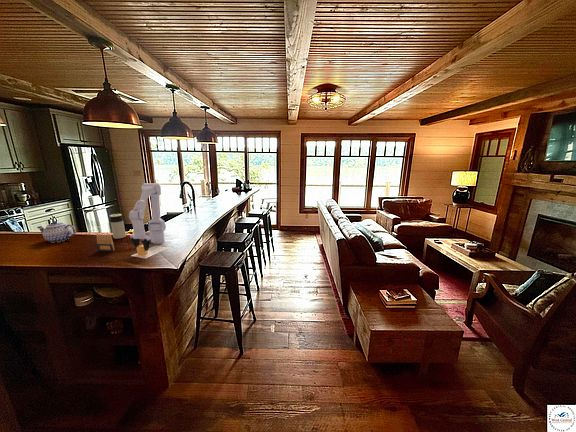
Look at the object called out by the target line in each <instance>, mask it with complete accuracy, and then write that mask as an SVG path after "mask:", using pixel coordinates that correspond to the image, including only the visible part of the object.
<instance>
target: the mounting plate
mask: <svg viewBox="0 0 576 432" xmlns="http://www.w3.org/2000/svg"><path fill="white" fill-rule="evenodd" d="M167 249H168V247H167V246H160V245H153V246H151V247H149V250H148V253H147V254H145V255H138V253H134V254H131V257H136V258H140V259H148V258H149V257H151V256H154V255H157V254H159V253H161V252H163V251H165V250H167Z"/></svg>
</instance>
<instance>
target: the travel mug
mask: <svg viewBox="0 0 576 432" xmlns="http://www.w3.org/2000/svg"><path fill="white" fill-rule="evenodd" d="M109 217H110V219H109V221H110V228H111V233H112V237H113V238H112V239H117V240H118V239H119V240H120V239H123V238H125V237H127V236H126V230H125V229H126V228H125V224H124V223H125V222H124V218H123V217H122V213H113V214H110V215H109Z"/></svg>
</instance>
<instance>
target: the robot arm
mask: <svg viewBox="0 0 576 432" xmlns="http://www.w3.org/2000/svg"><path fill="white" fill-rule="evenodd" d="M140 187H141V195H140V199H139V200H136V202H135V204H134V206H133V208H132V210H130V211H129V212H128V219H129V220H130V223H131V224H132V228H133V233H132V234H130V235H129V237H130V239H129V241H130V243H132V245H133V246H134V248H135V250H137V246H139V245H143V246H144V250H145V251H147V250H149V248H150V244H151V243H153V244H161V243H164V242H166V241H165V233H164V232H165V231H166V229H167V225H166V222H165V220H163V218H161V207H160V206H161V205H160V196H161V195H162V191H161V190H162V189H161V188H162V187H161V185H160V184H159V183H158V182H156V183H154V182H153V183H151V182H150V183H146V182H144V183H142V184H141V186H140ZM149 197H150V200H151V201H150V205H151V219H150V220H149V221H148V227H147V228H148V229H147V230H148V231H149V235H147V234H146V232H145V224H144V218H145V210H146V208H147V205H148V204H147V201H148V199H149ZM140 242H141V244H140Z"/></svg>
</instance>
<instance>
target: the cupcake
mask: <svg viewBox="0 0 576 432" xmlns="http://www.w3.org/2000/svg"><path fill="white" fill-rule="evenodd" d="M136 252H137V253H138V255H145V254H147V253H148V250H147V251H145V250H144V246H143V244H140V245H139V246H137V249H136Z"/></svg>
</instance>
